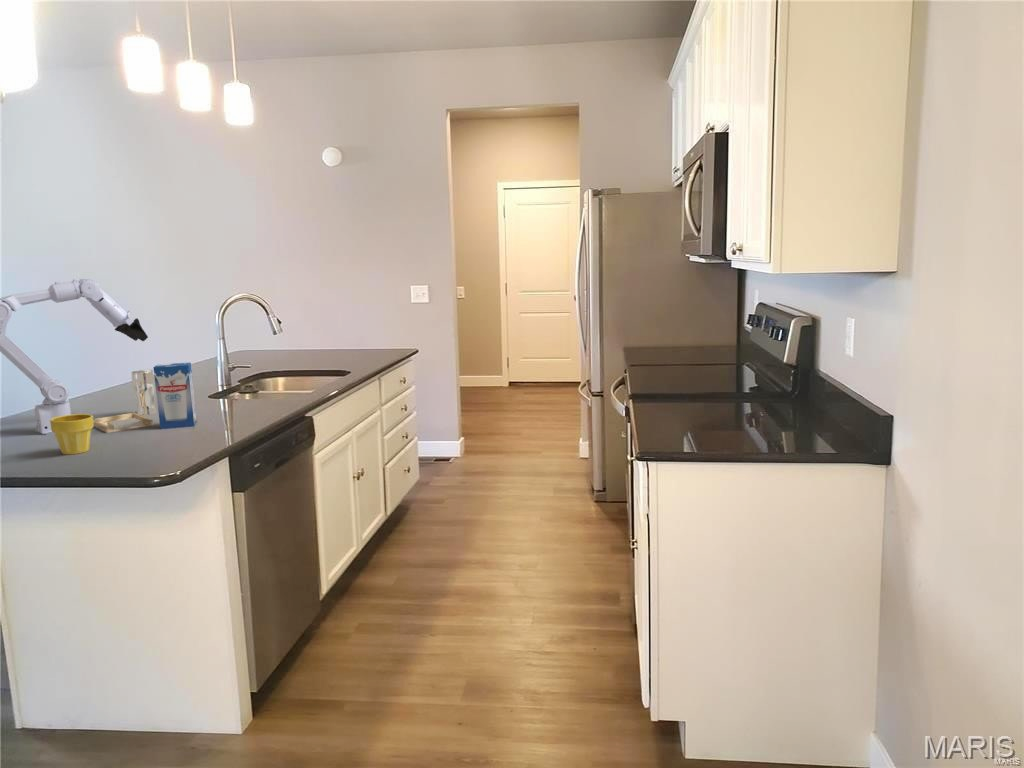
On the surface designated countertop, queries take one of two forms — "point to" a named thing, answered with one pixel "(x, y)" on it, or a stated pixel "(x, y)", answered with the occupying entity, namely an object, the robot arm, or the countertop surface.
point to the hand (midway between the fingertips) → (141, 339)
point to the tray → (102, 422)
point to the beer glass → (144, 391)
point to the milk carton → (175, 395)
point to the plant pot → (73, 432)
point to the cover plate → (124, 423)
